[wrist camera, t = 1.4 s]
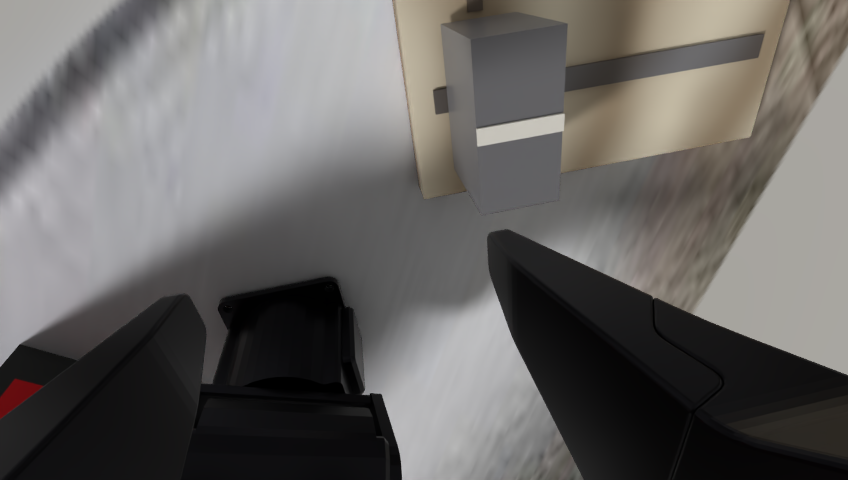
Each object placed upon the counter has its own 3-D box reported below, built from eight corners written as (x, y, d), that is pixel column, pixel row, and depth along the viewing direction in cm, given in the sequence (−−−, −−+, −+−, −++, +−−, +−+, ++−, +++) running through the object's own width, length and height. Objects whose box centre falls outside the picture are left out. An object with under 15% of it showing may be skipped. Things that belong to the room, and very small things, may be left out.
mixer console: (419, 186, 22) (424, 201, 21) (389, -17, 17) (394, -16, 16) (728, 128, 23) (753, 138, 22) (781, -77, 19) (818, -81, 17)
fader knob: (454, 169, 20) (482, 216, 16) (440, 23, 17) (471, 39, 13) (517, 157, 20) (560, 201, 16) (516, 11, 17) (569, 23, 13)
